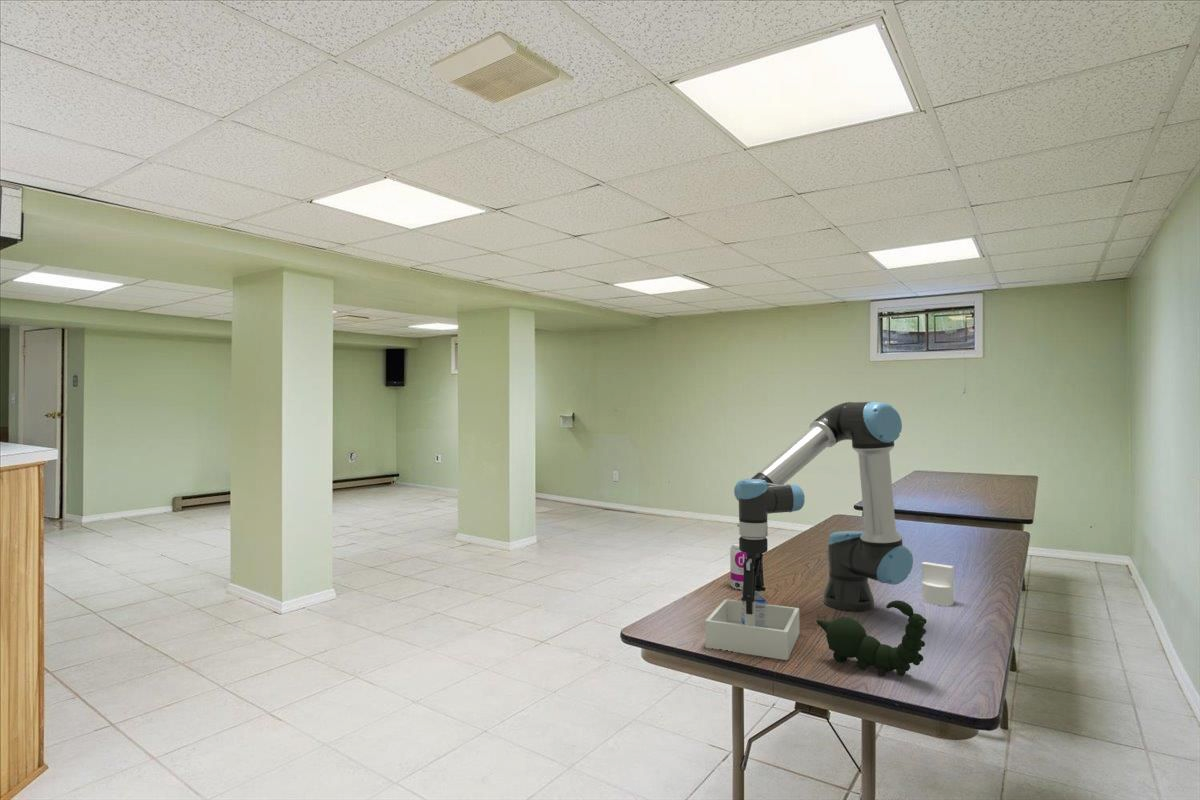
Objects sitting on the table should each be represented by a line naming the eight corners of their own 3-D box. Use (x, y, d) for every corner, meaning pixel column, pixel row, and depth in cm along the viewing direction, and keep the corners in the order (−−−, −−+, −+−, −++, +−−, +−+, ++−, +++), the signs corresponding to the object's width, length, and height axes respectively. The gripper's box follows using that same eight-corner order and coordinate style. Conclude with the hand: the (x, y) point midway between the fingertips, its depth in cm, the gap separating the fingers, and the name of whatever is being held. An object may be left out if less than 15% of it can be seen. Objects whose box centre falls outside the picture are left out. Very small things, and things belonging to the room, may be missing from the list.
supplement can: (755, 591, 221) (754, 547, 221) (730, 590, 222) (730, 546, 223) (754, 585, 229) (754, 542, 229) (730, 583, 230) (730, 541, 231)
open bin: (799, 633, 180) (799, 608, 180) (787, 660, 161) (787, 632, 161) (725, 623, 189) (724, 599, 189) (705, 647, 170) (705, 620, 170)
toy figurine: (924, 681, 152) (820, 647, 168) (931, 602, 151) (826, 575, 167) (913, 695, 145) (806, 658, 161) (921, 612, 144) (812, 583, 160)
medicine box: (741, 622, 179) (740, 591, 179) (756, 622, 179) (756, 590, 179) (750, 632, 171) (749, 599, 171) (766, 632, 171) (766, 599, 171)
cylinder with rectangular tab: (957, 601, 208) (956, 564, 208) (949, 608, 202) (948, 569, 202) (927, 596, 214) (926, 560, 214) (918, 602, 208) (918, 565, 208)
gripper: (747, 528, 186) (748, 607, 186) (729, 543, 167) (730, 630, 167) (774, 530, 183) (774, 610, 183) (759, 545, 164) (760, 634, 163)
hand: (753, 620), depth 175 cm, fingers closed on medicine box, 9 cm apart
